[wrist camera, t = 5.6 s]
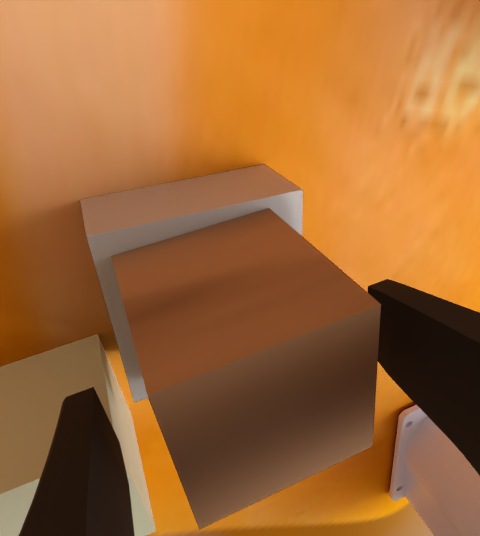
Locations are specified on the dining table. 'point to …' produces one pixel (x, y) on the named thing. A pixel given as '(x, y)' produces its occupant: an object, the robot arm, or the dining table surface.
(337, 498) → the dining table surface
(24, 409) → the sage block
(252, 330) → the walnut block
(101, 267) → the stone slab
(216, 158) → the dining table surface
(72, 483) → the robot arm
